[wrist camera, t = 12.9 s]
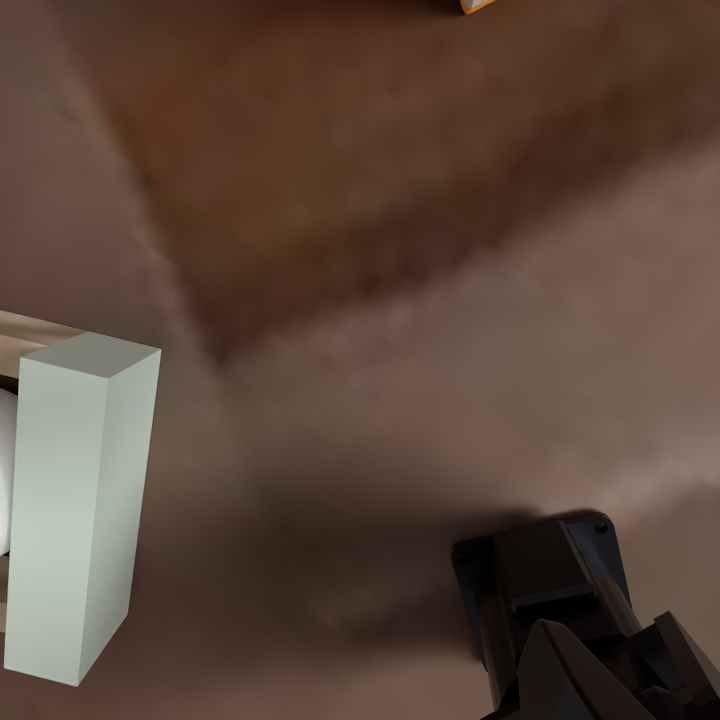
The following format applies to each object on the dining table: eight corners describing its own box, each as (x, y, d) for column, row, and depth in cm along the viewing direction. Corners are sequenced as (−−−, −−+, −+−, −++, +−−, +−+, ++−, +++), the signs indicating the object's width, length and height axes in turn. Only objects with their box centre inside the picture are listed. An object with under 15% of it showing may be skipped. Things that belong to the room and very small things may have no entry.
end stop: (161, 349, 22) (108, 378, 18) (127, 614, 25) (77, 686, 21) (89, 331, 22) (19, 357, 18) (65, 598, 25) (3, 667, 21)
